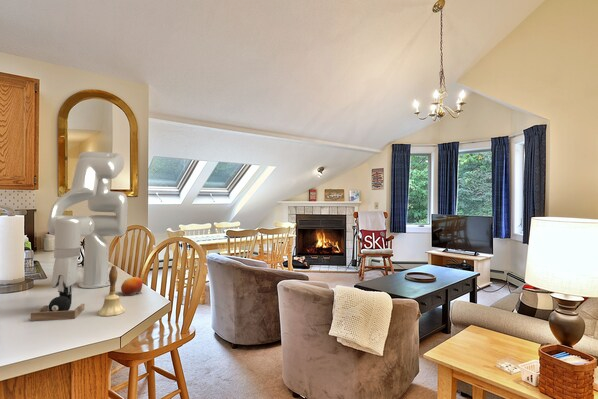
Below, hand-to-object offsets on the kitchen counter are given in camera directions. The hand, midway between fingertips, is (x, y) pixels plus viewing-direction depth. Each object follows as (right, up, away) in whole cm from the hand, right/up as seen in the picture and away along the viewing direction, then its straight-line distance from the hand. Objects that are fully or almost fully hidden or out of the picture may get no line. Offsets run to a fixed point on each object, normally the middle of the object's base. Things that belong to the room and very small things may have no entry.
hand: (65, 305), depth 118 cm
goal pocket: (+2, -2, -5) cm, 6 cm away
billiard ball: (+1, -2, -5) cm, 5 cm away
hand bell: (+17, -2, -1) cm, 17 cm away
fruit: (+12, -3, +23) cm, 26 cm away
